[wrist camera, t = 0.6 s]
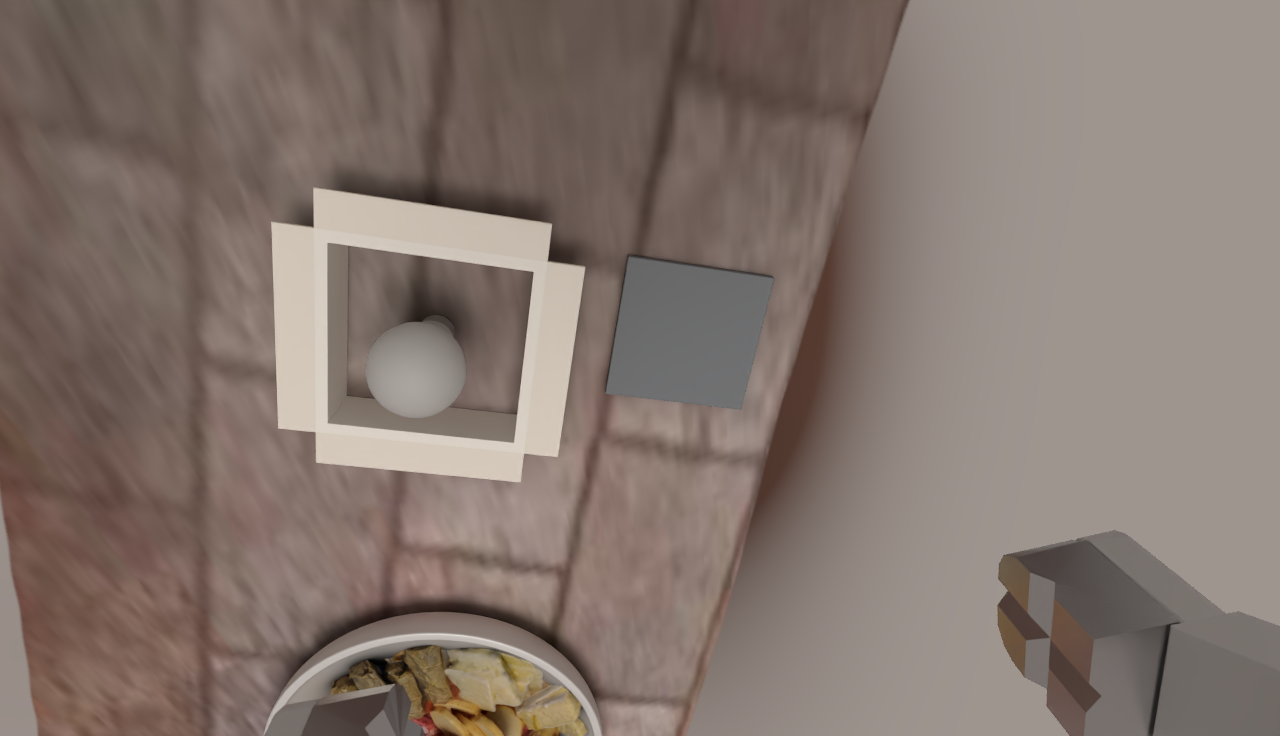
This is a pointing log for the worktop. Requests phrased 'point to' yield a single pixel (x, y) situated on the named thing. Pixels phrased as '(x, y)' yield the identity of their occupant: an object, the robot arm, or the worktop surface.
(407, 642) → the bowl
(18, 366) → the worktop surface
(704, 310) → the mat
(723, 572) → the worktop surface
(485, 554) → the worktop surface
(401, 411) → the lightbulb
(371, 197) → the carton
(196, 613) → the worktop surface
